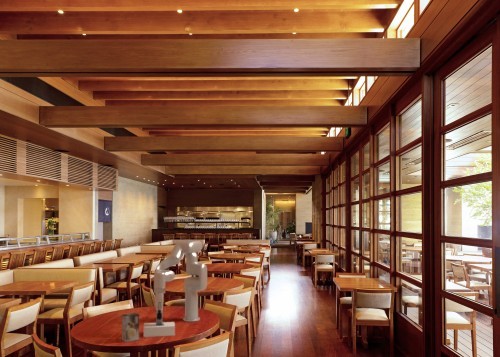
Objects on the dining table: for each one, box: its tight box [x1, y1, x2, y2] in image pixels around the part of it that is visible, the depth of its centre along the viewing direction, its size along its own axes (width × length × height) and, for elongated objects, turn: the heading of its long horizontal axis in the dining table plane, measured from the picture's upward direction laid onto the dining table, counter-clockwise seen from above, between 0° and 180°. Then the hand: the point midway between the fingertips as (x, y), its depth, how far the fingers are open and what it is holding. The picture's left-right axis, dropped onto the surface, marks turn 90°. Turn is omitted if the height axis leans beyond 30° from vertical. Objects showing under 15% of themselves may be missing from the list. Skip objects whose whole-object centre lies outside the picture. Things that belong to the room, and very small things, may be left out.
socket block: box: [143, 321, 176, 338], centre depth 317 cm, size 12×20×6 cm, turn 101°
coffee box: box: [121, 312, 140, 343], centre depth 303 cm, size 9×6×16 cm
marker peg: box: [155, 307, 164, 326], centre depth 317 cm, size 4×4×12 cm
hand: (159, 318), depth 317 cm, fingers closed on marker peg, 4 cm apart
